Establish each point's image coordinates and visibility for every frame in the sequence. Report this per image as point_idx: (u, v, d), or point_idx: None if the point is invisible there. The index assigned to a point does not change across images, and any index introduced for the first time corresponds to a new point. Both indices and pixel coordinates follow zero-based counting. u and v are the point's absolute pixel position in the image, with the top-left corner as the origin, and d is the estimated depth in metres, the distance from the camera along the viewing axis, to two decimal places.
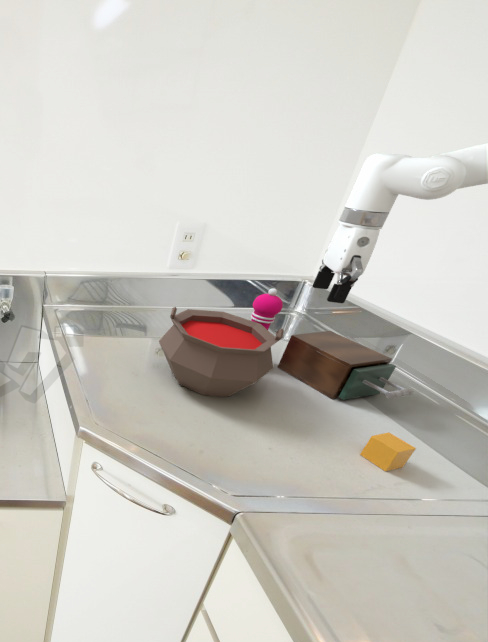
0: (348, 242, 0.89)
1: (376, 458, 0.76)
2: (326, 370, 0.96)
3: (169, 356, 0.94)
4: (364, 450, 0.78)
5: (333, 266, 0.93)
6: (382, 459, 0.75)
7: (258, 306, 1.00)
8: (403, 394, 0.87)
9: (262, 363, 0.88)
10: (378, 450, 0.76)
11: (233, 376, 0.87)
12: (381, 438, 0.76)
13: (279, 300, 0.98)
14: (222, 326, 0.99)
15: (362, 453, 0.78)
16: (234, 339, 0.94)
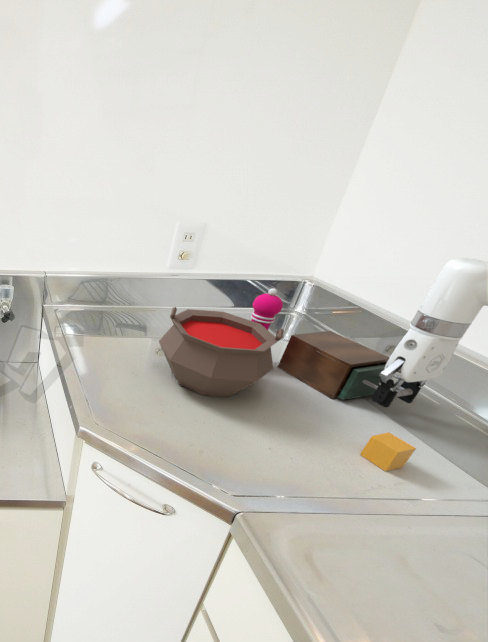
0: None
1: (376, 458, 0.76)
2: (326, 370, 0.96)
3: (169, 356, 0.94)
4: (364, 450, 0.78)
5: None
6: (382, 459, 0.75)
7: (258, 306, 1.00)
8: (403, 394, 0.87)
9: (262, 363, 0.88)
10: (378, 450, 0.76)
11: (233, 376, 0.87)
12: (381, 438, 0.76)
13: (279, 300, 0.98)
14: (222, 326, 0.99)
15: (362, 453, 0.78)
16: (234, 339, 0.94)
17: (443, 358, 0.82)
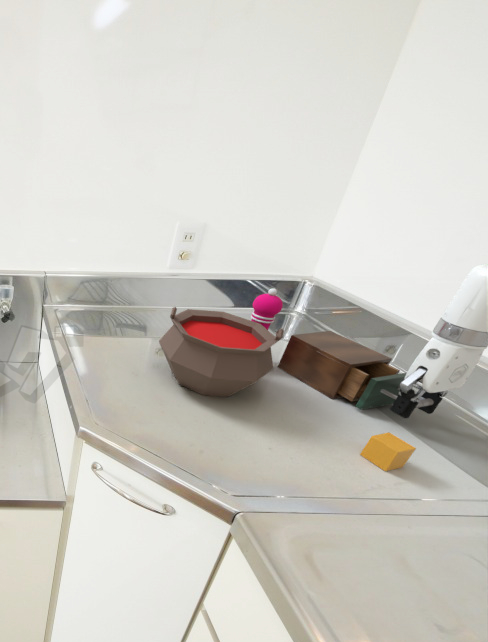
0: None
1: (376, 458, 0.76)
2: (326, 370, 0.96)
3: (169, 356, 0.94)
4: (364, 450, 0.78)
5: None
6: (382, 459, 0.75)
7: (258, 306, 1.00)
8: (424, 404, 0.84)
9: (262, 363, 0.88)
10: (378, 450, 0.76)
11: (233, 376, 0.87)
12: (381, 438, 0.76)
13: (279, 300, 0.98)
14: (222, 326, 0.99)
15: (362, 453, 0.78)
16: (234, 339, 0.94)
17: (467, 368, 0.79)
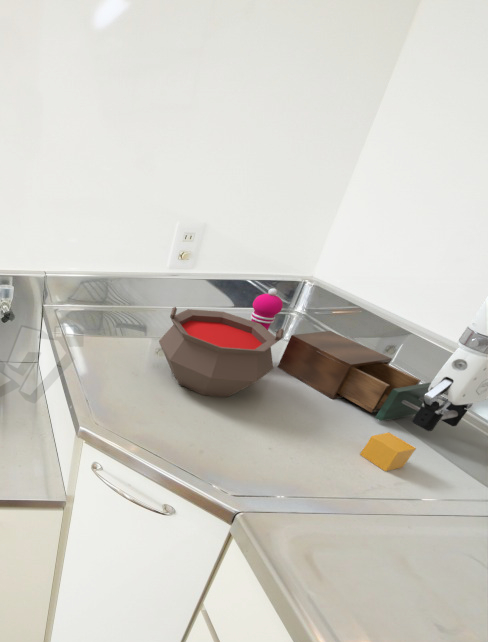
0: (447, 361, 0.77)
1: (376, 458, 0.76)
2: (326, 370, 0.96)
3: (169, 356, 0.94)
4: (364, 450, 0.78)
5: None
6: (382, 459, 0.75)
7: (258, 306, 1.00)
8: (448, 417, 0.81)
9: (262, 363, 0.88)
10: (378, 450, 0.76)
11: (233, 376, 0.87)
12: (381, 438, 0.76)
13: (279, 300, 0.98)
14: (222, 326, 0.99)
15: (362, 453, 0.78)
16: (234, 339, 0.94)
17: None
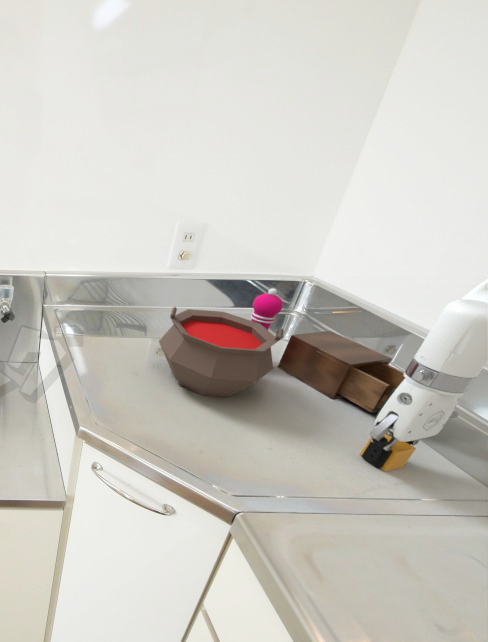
0: None
1: None
2: (326, 370, 0.96)
3: (169, 356, 0.94)
4: (364, 450, 0.78)
5: None
6: None
7: (258, 306, 1.00)
8: None
9: (262, 363, 0.88)
10: None
11: (233, 376, 0.87)
12: None
13: (279, 300, 0.98)
14: (222, 326, 0.99)
15: (362, 453, 0.78)
16: (234, 339, 0.94)
17: (443, 414, 0.70)
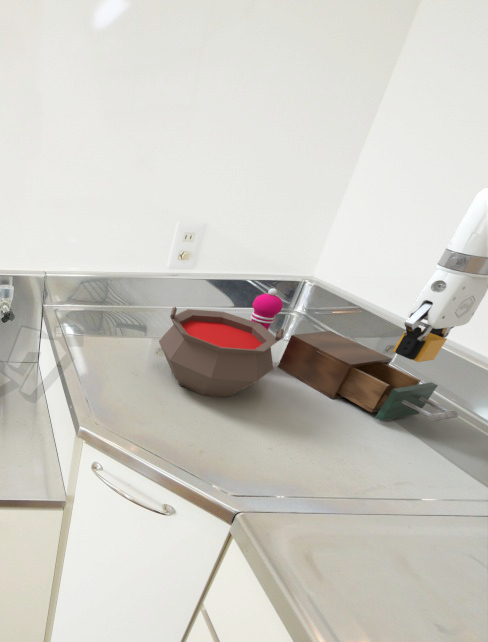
0: None
1: None
2: (326, 370, 0.96)
3: (169, 356, 0.94)
4: (397, 346, 0.83)
5: None
6: None
7: (258, 306, 1.00)
8: (448, 417, 0.81)
9: (262, 363, 0.88)
10: None
11: (233, 376, 0.87)
12: None
13: (279, 300, 0.98)
14: (222, 326, 0.99)
15: (395, 349, 0.84)
16: (234, 339, 0.94)
17: (474, 301, 0.75)
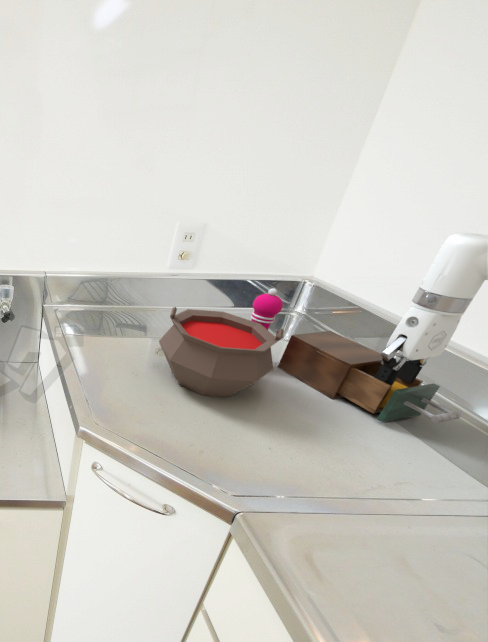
0: None
1: None
2: (326, 370, 0.96)
3: (169, 356, 0.94)
4: None
5: None
6: None
7: (258, 306, 1.00)
8: (450, 418, 0.81)
9: (262, 363, 0.88)
10: None
11: (232, 376, 0.87)
12: None
13: (279, 300, 0.98)
14: (222, 326, 0.99)
15: None
16: (234, 339, 0.94)
17: (445, 335, 0.81)
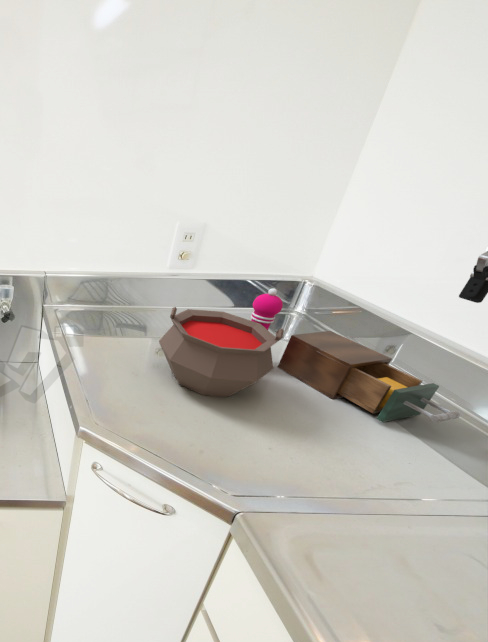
0: None
1: None
2: (326, 370, 0.96)
3: (169, 356, 0.94)
4: None
5: None
6: None
7: (258, 306, 1.00)
8: (450, 418, 0.81)
9: (262, 363, 0.88)
10: None
11: (233, 376, 0.87)
12: None
13: (279, 300, 0.98)
14: (222, 326, 0.99)
15: None
16: (234, 339, 0.94)
17: None
